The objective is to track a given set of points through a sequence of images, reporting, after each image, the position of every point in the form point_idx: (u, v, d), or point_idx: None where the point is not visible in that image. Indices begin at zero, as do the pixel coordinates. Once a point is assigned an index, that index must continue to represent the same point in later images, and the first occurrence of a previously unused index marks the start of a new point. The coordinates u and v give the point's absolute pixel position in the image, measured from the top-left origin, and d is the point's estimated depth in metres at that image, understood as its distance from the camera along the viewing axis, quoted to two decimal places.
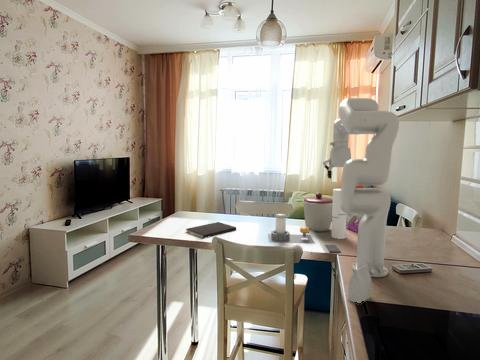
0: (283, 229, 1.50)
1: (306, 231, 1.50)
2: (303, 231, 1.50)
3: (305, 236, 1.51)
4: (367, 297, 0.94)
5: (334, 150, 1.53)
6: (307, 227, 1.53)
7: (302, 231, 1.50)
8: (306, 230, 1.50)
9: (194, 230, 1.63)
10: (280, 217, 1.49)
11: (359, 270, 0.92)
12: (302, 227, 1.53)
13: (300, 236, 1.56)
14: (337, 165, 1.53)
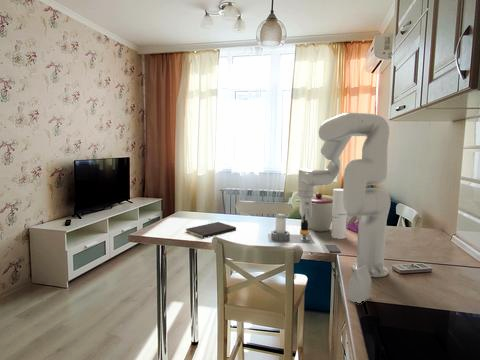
0: (283, 229, 1.50)
1: (306, 233, 1.50)
2: (303, 233, 1.50)
3: (305, 238, 1.52)
4: (367, 297, 0.94)
5: (311, 200, 1.46)
6: None
7: (302, 233, 1.50)
8: (306, 232, 1.50)
9: (194, 230, 1.63)
10: (280, 217, 1.49)
11: (359, 270, 0.92)
12: None
13: (300, 236, 1.56)
14: None
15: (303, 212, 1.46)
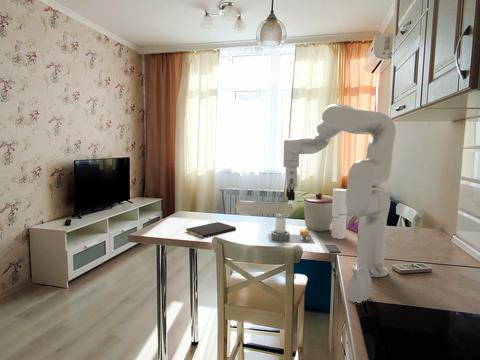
0: (283, 229, 1.50)
1: (306, 234, 1.50)
2: (303, 234, 1.50)
3: None
4: (367, 297, 0.94)
5: (296, 170, 1.45)
6: (307, 230, 1.53)
7: (302, 234, 1.50)
8: (306, 233, 1.50)
9: (194, 230, 1.63)
10: (280, 217, 1.49)
11: (359, 270, 0.92)
12: (302, 230, 1.53)
13: (300, 236, 1.56)
14: None
15: (288, 182, 1.45)
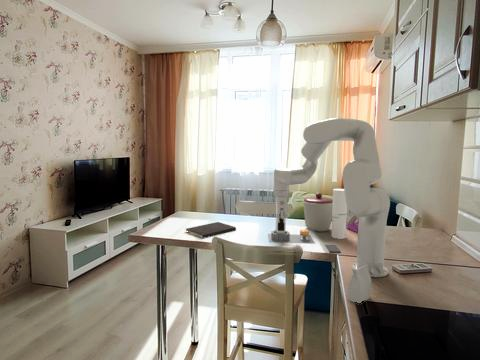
0: None
1: (306, 234, 1.50)
2: (303, 234, 1.50)
3: None
4: (367, 297, 0.94)
5: (286, 200, 1.47)
6: (307, 230, 1.53)
7: (302, 234, 1.50)
8: (306, 233, 1.50)
9: (194, 230, 1.63)
10: None
11: (359, 270, 0.92)
12: (302, 230, 1.53)
13: (300, 236, 1.56)
14: None
15: (278, 211, 1.46)
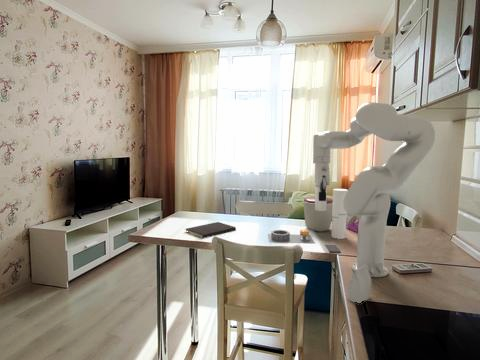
0: None
1: (306, 234, 1.50)
2: (303, 234, 1.50)
3: None
4: (367, 297, 0.94)
5: (328, 166, 1.34)
6: (307, 230, 1.53)
7: (302, 234, 1.50)
8: (306, 233, 1.50)
9: (193, 230, 1.64)
10: None
11: (359, 270, 0.92)
12: (302, 230, 1.53)
13: (300, 236, 1.56)
14: None
15: (320, 179, 1.34)
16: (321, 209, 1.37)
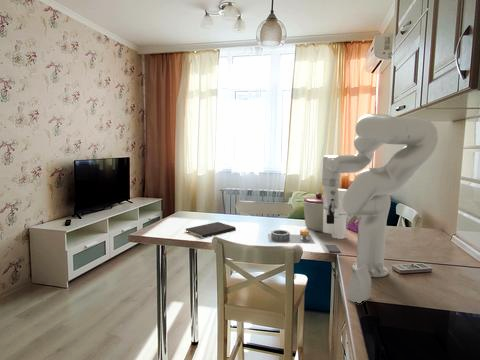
0: None
1: (306, 234, 1.50)
2: (303, 234, 1.50)
3: None
4: (367, 297, 0.94)
5: (337, 189, 1.33)
6: (307, 230, 1.53)
7: (302, 234, 1.50)
8: (306, 233, 1.50)
9: (193, 230, 1.64)
10: (330, 209, 1.36)
11: (359, 270, 0.92)
12: (302, 230, 1.53)
13: (300, 236, 1.56)
14: None
15: (328, 202, 1.33)
16: (329, 231, 1.37)
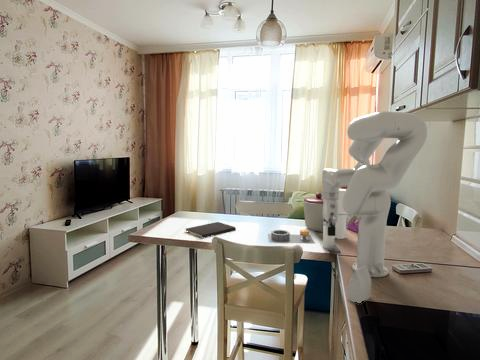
0: (332, 238, 1.37)
1: (306, 234, 1.50)
2: (303, 234, 1.50)
3: None
4: (367, 297, 0.94)
5: (337, 203, 1.34)
6: (307, 230, 1.53)
7: (302, 234, 1.50)
8: (306, 233, 1.50)
9: (193, 230, 1.64)
10: None
11: (359, 270, 0.92)
12: (302, 230, 1.53)
13: (300, 236, 1.56)
14: None
15: (328, 216, 1.33)
16: (329, 248, 1.37)
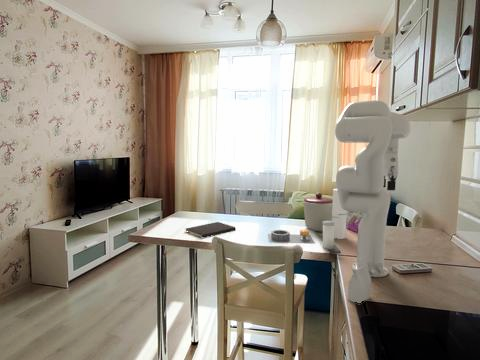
0: (332, 238, 1.37)
1: (306, 234, 1.50)
2: (303, 234, 1.50)
3: None
4: (367, 297, 0.94)
5: (397, 157, 1.31)
6: (307, 230, 1.53)
7: (302, 234, 1.50)
8: (306, 233, 1.50)
9: (193, 230, 1.64)
10: (328, 224, 1.36)
11: (359, 270, 0.92)
12: (302, 230, 1.53)
13: (300, 236, 1.56)
14: None
15: (388, 170, 1.31)
16: (328, 247, 1.37)
